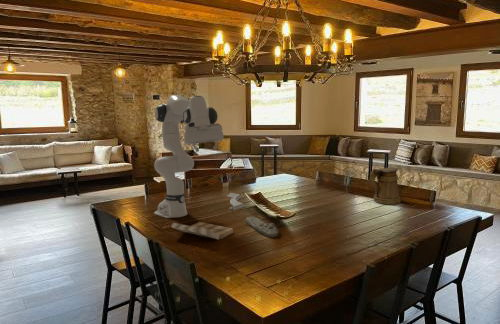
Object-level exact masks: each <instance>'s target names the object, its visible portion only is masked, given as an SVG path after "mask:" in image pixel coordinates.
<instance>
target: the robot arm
mask: <svg viewBox="0 0 500 324" xmlns="http://www.w3.org/2000/svg"><path fill="white" fill-rule="evenodd" d="M154 117H155V120H156V121H157V122H158V123H162V124H161V134H162V135H161V136H162V143H163V148H164V149H166V150H167V151H168V152H169V151H170V152H171V153H172V155H169V156H161V157H158V158H156V160H155V161H154V165H153V167H154V169H155V171H156V172H157V173H158V174H159V175H160V176H161V177H162V178H163V179H164V182H165V186H166V194H164V199H163V200H162V201H161V202H160V203H159V204H158V205H157V210H155V211H154V213H153V214H154V215H156V216H159V217H163V218H165V219H170V218H172V219H173V218H181V217H185V216H187V215H188V211H187V206H186V201H185V200H186V193H185V182H184V180H183V179H181V178H180V177H176V175H175V174H177V173H185V172H189V171H191V170H193V169H194V166H195V161H194V158H193V157H192V156H191V155H189V154H188V153H187V152H186V151H185V149H184V148H183V146H182V141H181V134H180V129H179V124H184V123H185V126H184V131H185V132H184V134H183V137H184V141H183V142H184V144H185V145H186V146H187V145H191V146H192V147H193V149H194V150H195V153H198V152H199V151H200V149H199V147H197V146H196V144H204V143H205V144H206V143H213V142H214V145H213V147H212V148H213V151H215V150H218V147H217V145H218V144H219V142H220V141H223V140H224V138H225V137H224V136H225V135H224V133H223V126H222V125H221V124H220V123H216V122H217V121H218V118H219V117H218V112H217V110H216V109H215V108H213V107H212V106H210V107H208V106H207V101H206V100H205V98H204V96H202V95H193V96H191V97H190V98H189V99H187V98H186V97H184V96H182V95H179V94H171V95H170V96H169V97H168V98H167V103H161V104H160V105H157V106H156V107H155V109H154Z"/></svg>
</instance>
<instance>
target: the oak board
mask: <svg viewBox="0 0 500 324" xmlns="http://www.w3.org/2000/svg"><path fill="white" fill-rule="evenodd" d="M190 226H191V227H196V228H201V229H206V230H209V231H211V232H214V233H216V234H218V235H220V237H219V240H222V239H224V238H226V237H228V236H230V235H231V234H233V233H234V228H232V227H227V226H222V225H219V224H212V223H207V222H202V221H198V222H196V223H194V224H191V225H190Z"/></svg>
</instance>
